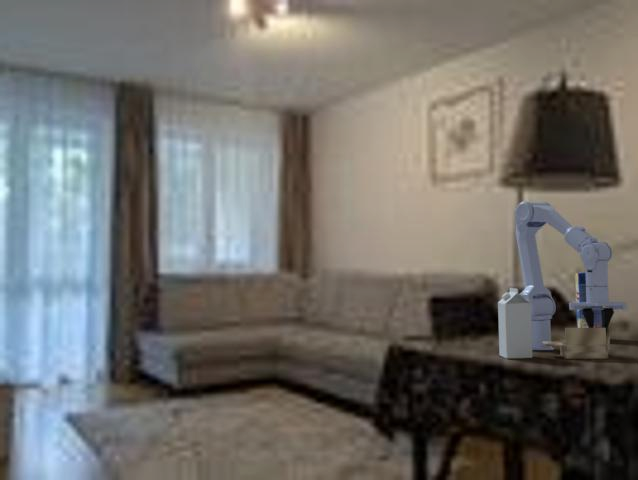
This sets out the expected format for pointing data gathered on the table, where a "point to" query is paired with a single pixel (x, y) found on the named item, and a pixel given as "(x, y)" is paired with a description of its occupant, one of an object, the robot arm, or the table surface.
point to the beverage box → (581, 297)
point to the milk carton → (514, 326)
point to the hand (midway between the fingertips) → (598, 336)
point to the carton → (579, 350)
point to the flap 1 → (585, 336)
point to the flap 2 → (608, 335)
